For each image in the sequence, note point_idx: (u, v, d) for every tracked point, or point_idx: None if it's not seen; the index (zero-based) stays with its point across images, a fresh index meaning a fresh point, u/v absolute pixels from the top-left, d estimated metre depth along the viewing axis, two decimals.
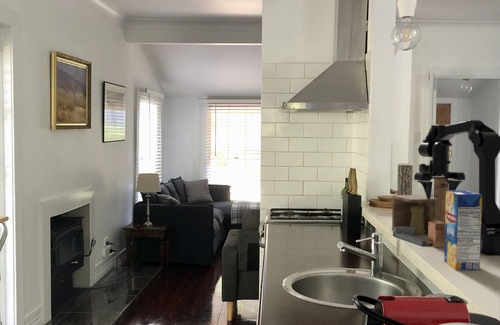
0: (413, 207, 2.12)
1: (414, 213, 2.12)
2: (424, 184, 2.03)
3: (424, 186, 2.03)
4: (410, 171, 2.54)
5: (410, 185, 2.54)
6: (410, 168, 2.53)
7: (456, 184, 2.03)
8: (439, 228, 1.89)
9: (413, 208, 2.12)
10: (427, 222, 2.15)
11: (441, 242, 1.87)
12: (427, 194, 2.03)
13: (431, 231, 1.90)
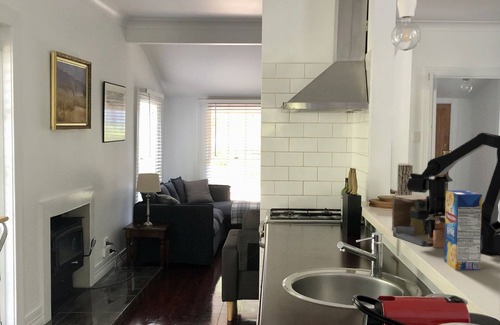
0: (413, 207, 2.12)
1: None
2: (426, 222, 1.90)
3: (426, 224, 1.90)
4: (410, 171, 2.54)
5: None
6: (410, 168, 2.53)
7: None
8: (439, 228, 1.89)
9: (413, 208, 2.12)
10: None
11: (441, 242, 1.87)
12: (429, 232, 1.90)
13: None
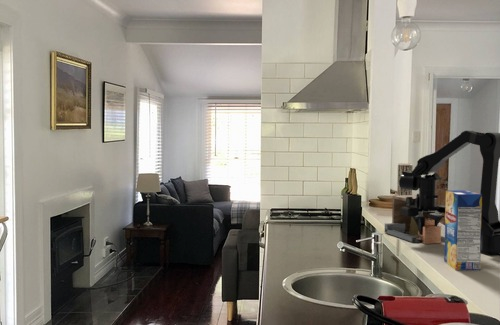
0: None
1: None
2: (416, 219, 1.96)
3: (416, 221, 1.96)
4: (410, 171, 2.54)
5: None
6: (410, 168, 2.53)
7: (438, 219, 1.95)
8: (429, 225, 1.95)
9: None
10: None
11: (430, 238, 1.93)
12: (419, 229, 1.96)
13: None
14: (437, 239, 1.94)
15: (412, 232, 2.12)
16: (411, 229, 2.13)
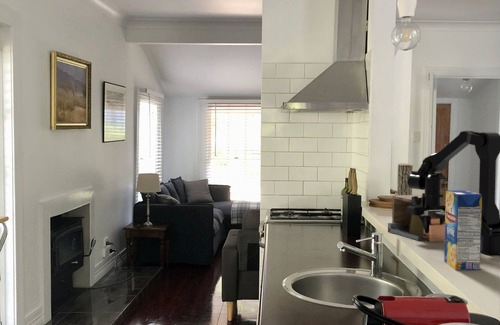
0: None
1: None
2: (422, 217, 2.00)
3: (422, 220, 2.00)
4: (410, 171, 2.54)
5: None
6: (410, 168, 2.53)
7: (443, 218, 1.99)
8: (434, 223, 1.99)
9: None
10: None
11: (436, 236, 1.97)
12: (425, 228, 2.00)
13: None
14: (443, 237, 1.98)
15: (412, 232, 2.12)
16: (411, 229, 2.13)
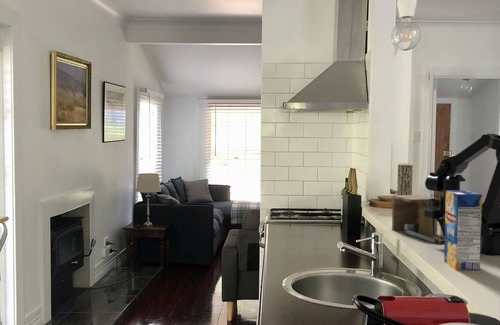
0: (421, 208, 2.08)
1: (423, 215, 2.08)
2: (440, 221, 1.93)
3: (440, 223, 1.93)
4: (410, 171, 2.54)
5: (410, 185, 2.54)
6: (410, 168, 2.53)
7: None
8: None
9: (422, 209, 2.08)
10: None
11: None
12: (443, 231, 1.93)
13: None
14: None
15: None
16: (419, 231, 2.09)
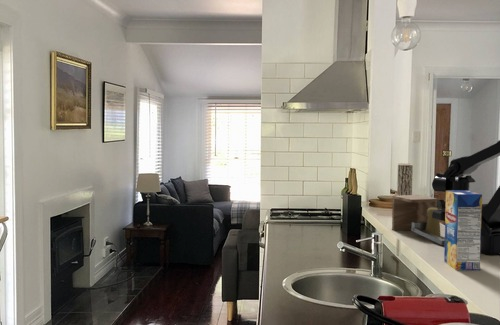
0: (430, 210, 2.03)
1: (430, 216, 2.03)
2: None
3: None
4: (410, 171, 2.54)
5: (410, 185, 2.54)
6: (410, 168, 2.53)
7: None
8: None
9: (430, 211, 2.03)
10: None
11: None
12: None
13: None
14: None
15: None
16: None
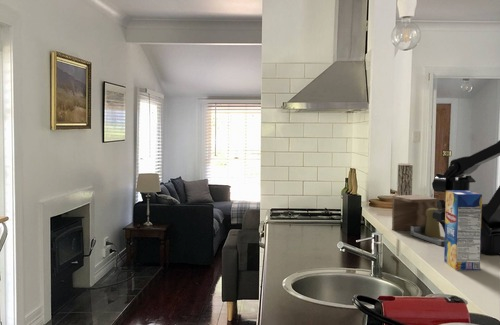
0: (428, 210, 2.04)
1: (429, 216, 2.04)
2: (443, 223, 1.88)
3: (443, 225, 1.88)
4: (410, 171, 2.54)
5: (410, 185, 2.54)
6: (410, 168, 2.53)
7: None
8: None
9: (429, 211, 2.04)
10: None
11: None
12: None
13: None
14: None
15: None
16: (426, 233, 2.04)
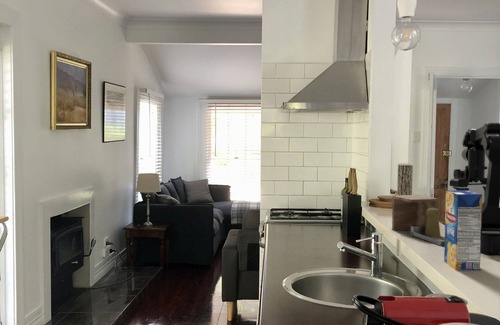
0: (428, 210, 2.04)
1: (429, 216, 2.04)
2: None
3: None
4: (410, 171, 2.54)
5: (410, 185, 2.54)
6: (410, 168, 2.53)
7: None
8: None
9: (429, 211, 2.03)
10: None
11: None
12: None
13: None
14: None
15: None
16: (426, 233, 2.04)
